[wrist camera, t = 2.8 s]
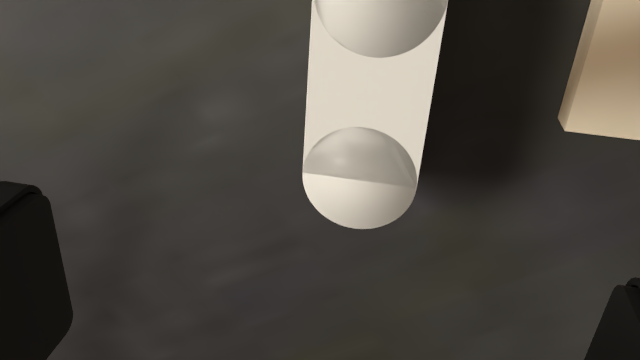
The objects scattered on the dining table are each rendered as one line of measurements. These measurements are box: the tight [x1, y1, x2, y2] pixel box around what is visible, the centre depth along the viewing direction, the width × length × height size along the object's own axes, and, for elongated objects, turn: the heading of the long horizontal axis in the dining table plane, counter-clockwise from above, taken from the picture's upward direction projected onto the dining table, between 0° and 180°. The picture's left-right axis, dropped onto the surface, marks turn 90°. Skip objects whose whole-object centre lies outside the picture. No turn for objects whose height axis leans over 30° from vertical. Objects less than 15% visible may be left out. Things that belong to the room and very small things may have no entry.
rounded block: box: [303, 0, 448, 229], centre depth 22 cm, size 11×4×6 cm, turn 177°
